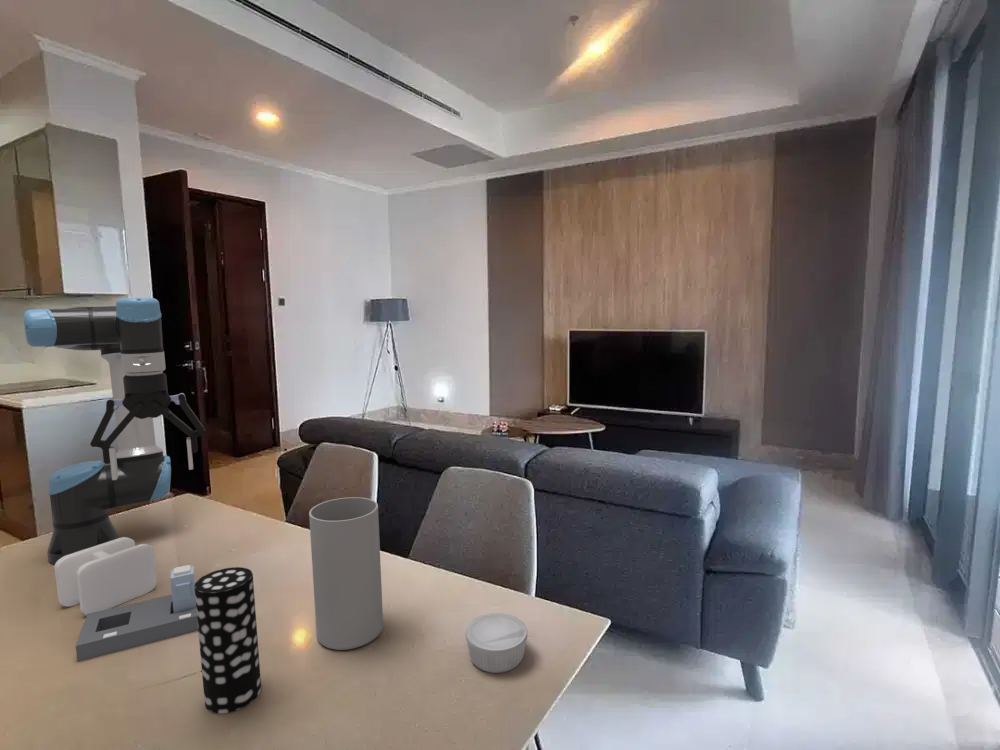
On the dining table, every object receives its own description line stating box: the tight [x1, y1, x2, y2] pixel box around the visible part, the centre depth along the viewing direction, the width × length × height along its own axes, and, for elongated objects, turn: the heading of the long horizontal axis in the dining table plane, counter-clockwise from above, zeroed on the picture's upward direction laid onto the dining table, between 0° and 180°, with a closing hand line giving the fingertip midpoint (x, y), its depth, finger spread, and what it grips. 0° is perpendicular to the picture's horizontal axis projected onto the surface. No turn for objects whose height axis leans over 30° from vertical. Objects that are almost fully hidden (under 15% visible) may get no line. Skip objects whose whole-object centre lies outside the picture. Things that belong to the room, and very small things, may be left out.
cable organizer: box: [53, 536, 158, 616], centre depth 119 cm, size 15×11×12 cm
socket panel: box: [75, 594, 198, 663], centre depth 109 cm, size 12×22×4 cm, turn 119°
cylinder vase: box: [308, 496, 384, 651], centre depth 105 cm, size 12×12×25 cm
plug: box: [170, 564, 196, 613], centre depth 111 cm, size 5×4×11 cm
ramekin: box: [464, 612, 529, 674], centre depth 98 cm, size 11×11×5 cm
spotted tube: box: [194, 566, 262, 714], centre depth 89 cm, size 8×8×20 cm
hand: (154, 473), depth 116 cm, fingers open, 13 cm apart
